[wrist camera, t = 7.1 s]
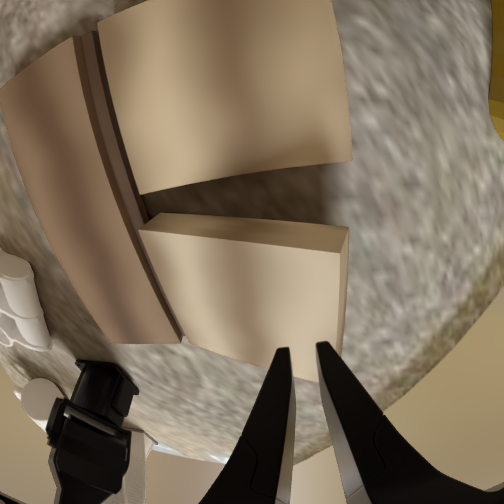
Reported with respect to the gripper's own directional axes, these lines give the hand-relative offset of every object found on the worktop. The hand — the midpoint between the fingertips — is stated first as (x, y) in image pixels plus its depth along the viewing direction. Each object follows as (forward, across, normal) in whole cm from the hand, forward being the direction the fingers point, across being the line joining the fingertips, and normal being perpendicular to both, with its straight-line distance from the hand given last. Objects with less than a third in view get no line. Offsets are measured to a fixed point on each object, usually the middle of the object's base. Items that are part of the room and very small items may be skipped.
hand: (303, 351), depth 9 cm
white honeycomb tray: (+11, +30, +2) cm, 32 cm away
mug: (+11, +43, +24) cm, 51 cm away
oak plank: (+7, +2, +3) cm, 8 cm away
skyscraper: (+11, +31, +39) cm, 51 cm away
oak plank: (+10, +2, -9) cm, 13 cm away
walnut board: (+10, +12, -3) cm, 16 cm away
